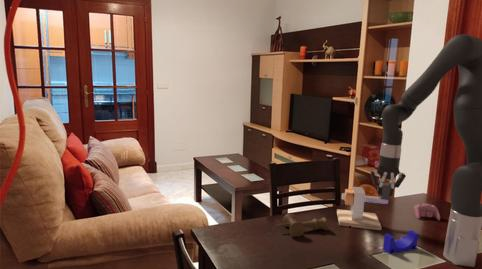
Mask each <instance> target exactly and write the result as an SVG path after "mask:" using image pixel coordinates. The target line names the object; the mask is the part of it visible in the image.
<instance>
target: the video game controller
mask: <svg viewBox="0 0 482 269" xmlns="http://www.w3.org/2000/svg"><path fill="white" fill-rule="evenodd" d="M413 209H414V215H415V217H416V219H417V220H419V219H420V218H421V217H423V218H424V217H425V216H426V217H427V218H433V216H434V217H435V218H436V220H437V221H440V220H441V215H440V211H439V209H438V207H436V205H434V204H431V203H419V204H418V203H417V204H416V205H415V206H414V207H413ZM425 211H427V212H426V213H425Z"/></svg>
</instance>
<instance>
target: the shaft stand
mask: <svg viewBox="0 0 482 269" xmlns="http://www.w3.org/2000/svg"><path fill="white" fill-rule="evenodd" d="M352 190H353V192H354V200H353V205H349V206H350V207H349V210H347V209H339V208H338V209H336V215H337V220H338V226H342V227H349V226H351V227H350V228H359V229H366V230H367V229H368V230H374V231H375V230H377V231H381V230H382V228H383V227H382V225H381V222H380V220H379V217H378V216H377V214H376V213H374V212H366V211H364V208H365V202H364V201H365V196H366V192H365V190H364V187H360V186H352Z"/></svg>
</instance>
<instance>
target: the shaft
mask: <svg viewBox="0 0 482 269" xmlns="http://www.w3.org/2000/svg"><path fill="white" fill-rule="evenodd" d="M390 188H391V185H390V183H389V182H388V183H387V182H384V183H383V185H382V194H381V196H374V195H373V196H371V195H365V201H364V203H374V204H382V205H389V201H390V197H389V195H390ZM345 199H346V194H345V192H342V193H341V200H343V201H344V200H345Z"/></svg>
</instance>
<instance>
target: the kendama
mask: <svg viewBox="0 0 482 269" xmlns="http://www.w3.org/2000/svg"><path fill="white" fill-rule="evenodd" d="M276 225H277V226H278V227H287V228H289V229H288V232H289V235H290V236H292V237H293V238H296V237H297V238H299V237H301V236H302V235H303V234H304V233H305V229H306V228H310V229H313V230H315V231H317V230H319V229H320V230H323V231H326V232H327V231H328V227H329V222H328V219H327V218H326V217H325V216H323V217H321V218H320V219H319V218H318V219H317V218H312V219H311V220H308V221H303V222H301V221H297V216H296V215H295V214H294V213H287V214H284V216H283V218H282V223H277V224H276Z"/></svg>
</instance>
